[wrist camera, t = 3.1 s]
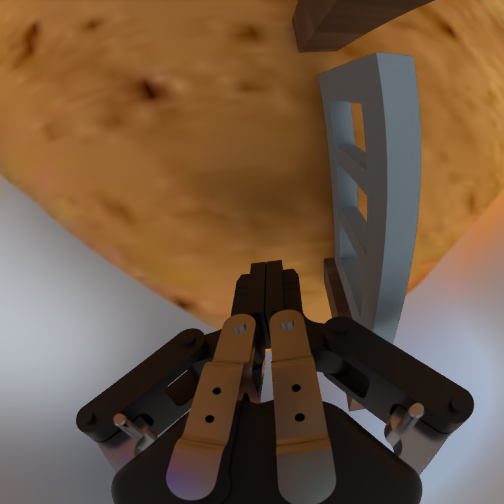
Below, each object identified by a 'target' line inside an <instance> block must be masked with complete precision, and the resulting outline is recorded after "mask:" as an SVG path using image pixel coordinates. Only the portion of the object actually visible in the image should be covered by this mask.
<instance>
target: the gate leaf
mask: <svg viewBox="0 0 504 504" xmlns="http://www.w3.org/2000/svg"><path fill="white" fill-rule="evenodd" d="M318 79H319V85H320V91H321V97H322V104H323V111H324V118H325V126H326V134H327V143H328V152H329V162H330V173H331V186H332V200H333V219H334V246H335V263H336V267H337V270H338V273H339V276H340V279H341V282H342V285H343V289H344V292H345V295H346V299H347V302H348V305H349V309H350V312H351V316H352V319H353V320H354V321H356V322H358V323H359V324H361V325H362V326H364V327H366V328H367V329H369V330H370V331H372V332H374V333H375V334H377V335H378V336H380V337H382V338H383V339H385V340H386V341H388V342H390V343H391V344H393V341H394V338H395V334H396V331H397V327H398V324H399V320H400V316H401V312H402V308H403V304H404V299H405V295H406V290H407V286H408V281H409V275H410V270H411V264H412V258H413V252H414V245H415V238H416V230H417V221H418V211H419V199H420V182H421V125H420V109H419V97H418V87H417V79H416V72H415V65H414V59H413V56H408V55H399V54H389V53H373V54H370V55H367V56H365V57H362V58H359V59H356V60H354V61H351V62H348V63H346V64H343V65H341V66H338V67H336V68H333V69H331V70H329V71H326V72H324V73H322V74H319V75H318ZM351 102H354V103H362V112H363V122H364V133H365V146H366V153H365V152H364V151H362V150H361V149H359V148H358V147H356V146H355V139H354V129H353V119H352V110H351ZM357 184H358V186H359V187H360V188H361V189H362V190H363V191H364V192H365V193H366V195H367V222H366V220H365V219H364V217H363V216H362V214H361V213H360V211H359V210H358V192H357Z"/></svg>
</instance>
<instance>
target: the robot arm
mask: <svg viewBox="0 0 504 504" xmlns="http://www.w3.org/2000/svg"><path fill="white" fill-rule="evenodd" d="M235 289H236V290H235V294H234V295H235V296H234V300H233V306H232V312H231V317H230V318H228V319H227V320H226V321H225V322H224V324H223V327H222V329H220V330H218V331H216V332H213V333H209V334H206V335H204V333H203V332H202V331H201V330H199V329H194V328H192V329H186V330H184V331H182V332H180V333H179V334H178V335H177V336H175V337H174V338H173V339H171V340H170V341H169V342H168V343H166V344H165V345H164V346H162V347H161V348H160V349H159V350H157V351H156V352H155V353H153V354H152V355H151V356H149V357H148V358H147V359H146V360H144V361H143V362H142V363H140V364H139V365H138V366H137V367H135V368H134V369H133V370H131V371H130V372H129V373H127V374H126V375H125V376H123V377H122V378H121V379H119V380H118V381H117V382H116V383H114V384H113V385H112V386H110V387H109V388H108V389H106V390H105V391H104V392H102V393H101V394H100V395H98V396H97V397H96V398H94V399H93V400H92V401H90V402H89V403H88V404H87V405H85V406H84V407H82V408H81V409H80V411H79V412H78V414H77V417H76V424H77V427H78V428H79V429H80V430H81V431H82V432H84V433H85V434H86V435H88V436H89V437H90V438H91V439H92V440H94V441H95V442H96V443H98V445H99V447H100V448H101V450H102V452H103V453H104V455H105V456H106V458H107V460H108V461H109V463H110V464H111V466H112V467H113V469H114V470H115V472H116V475H115V477H114V479H113V482H112V486H111V492H112V498H113V501H114V504H419V503H420V500H421V496H422V482H421V479H420V477H419V475H420V474H421V473H422V472H423V470H424V469H425V468H426V467H427V465H428V464H429V463H430V462H431V460H432V459H433V458H434V456H435V454H437V452H438V451H439V449H440V448H441V447H442V445H443V444H444V442H445V441H446V439H447V438H448V436H450V435H451V434H452V433H453V432H454V431H455V430H456V429H457V428H459V427H460V426H461V425H462V424H463V423H464V422H465V421H466V420H467V419H468V418H469V417H470V415H471V414H472V412H473V409H474V400H473V398H472V396H471V394H470V393H469V392H468V391H467V390H466V389H464V388H462V387H461V386H459V385H457V384H456V383H454V382H453V381H451V380H449V379H448V378H446V377H445V376H443V375H441V374H440V373H438V372H436V371H435V370H433V369H432V368H430V367H428V366H427V365H425V364H424V363H422V362H420V361H419V360H417V359H415V358H414V357H412V356H411V355H409V354H407V353H406V352H404V351H403V350H401V349H399V348H398V347H396V346H395V345H393V344H391V343H390V342H388V341H386V340H385V339H383V338H382V337H380V336H378V335H377V334H375V333H374V332H372V331H370V330H369V329H367V328H366V327H364V326H362V325H361V324H359V323H358V322H356V321H354V320H353V319H351V318H349V317H345V316H338V317H334V318H331V319H329V320H328V321H327V322H326V323H325V324H323V323H316V322H313V321H311V320H309V319H307V318H306V317H305V315H304V314H303V310H302V301H301V293H300V284H299V276H298V274H297V273H296V271H295V270H294V269H287V270H283V265H282V260H277V261H268V262H267V263H266V262H260V263H252V264H251V269H250V274H243V275H241V277H240V278H239V279H238V280H237V283H236V288H235ZM269 348H271V350H272V361H271V368H272V382H273V395H274V400H271V401H267V402H264V403H261V391H262V385H263V378H264V370H265V349H269ZM186 370H188V371H187V372H185V371H186ZM316 371H317V372H323V374H324V376H325V377H326V378H327V379H329V380H330V381H331V382H333V383H334V384H335V385H336V386H338V387H339V388H340V389H341V390H343V391H344V392H345V393H346V394H348V395H349V396H350V397H351V398H353V399H354V400H355V401H357V402H358V403H359V404H361V405H362V406H363V407H364V408H366V409H367V410H368V411H370V412H371V413H372V414H374V415H375V416H376V417H378V418H379V419H380V420H382V421H383V422H384V423H386V426H385V429H384V435H385V438H386V440H387V441H388V442H389V443H390V444H391V446H392V447H393V450H394V453H393V452H392V451H391V450H390V449H388V448H387V447H386V446H385V445H383V444H382V443H381V442H380V441H378V440H377V439H376V438H375V437H374V436H373V435H371V434H370V433H369V432H368V431H367V430H365V429H364V428H363V427H362V426H361V425H359V424H358V423H357V422H356V421H355V420H354V419H353V418H351V417H350V416H349V415H348V414H347V413H346V412H344V411H343V410H342V409H340V408H338V407H337V406H335V405H333V404H330V403H327V402H323V401H322V398H321V393H320V388H319V383H318V377H317V372H316ZM184 372H185V373H184ZM182 373H184V374H183V375H182V376H181V377H179V376H180V375H181V374H182ZM178 377H179V378H178ZM176 378H178V379H177V380H176V381H174V380H175V379H176ZM173 381H174V383H172V384H171V385H170V386H169V387H167V386H168V385H169V384H170V383H171V382H173ZM190 408H191V410H190V412H188V413H186V414H185V415H184V416H183V417H182V418H180V417H181V416H182V415H183V414H184V413H185V412H187V411H188V410H189V409H190ZM178 418H180V419H179V420H178V421H177V422H176V423H175V424H174V425H172V426H171V427H170V428H169V429H168V430H167V431H166V432H165V433H164V434H162V435H161V436H160V437H159V438H158V435H159V434H160V433H161V432H162V431H164V430H165V429H166V428H167V427H169V426H170V425H171V424H172V423H174V422H175V421H176V420H177V419H178Z"/></svg>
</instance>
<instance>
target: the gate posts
mask: <svg viewBox="0 0 504 504" xmlns="http://www.w3.org/2000/svg"><path fill="white" fill-rule="evenodd" d="M432 1H434V0H298V3H297V6H296V9H295V12H294V16H293V19H292V22H293V26H294V31H295V35H296V40H297V44H298V49H299V53H302V52H319V51H338V50H339V49H341V48H342V47H344V46H346V45H347V44H349V43H351V42H352V41H354V40H356V39H357V38H359V37H361V36H363V35H364V34H366V33H368V32H370V31H372V30H373V29H375V28H377V27H379V26H381V25H383V24H385V23H387V22H388V21H390V20H392V19H394V18H396V17H398V16H401V15H403V14H405V13H407V12H409V11H411V10H413V9H416V8H418V7H420V6H422V5H425V4H427V3H430V2H432ZM324 283H325V288H326V292H327V296H328V301H329V305H330V310H331V314H332V318H334V317H338V316H345V317H349V318H351V319H352V316H351V312H350V309H349V305H348V302H347V299H346V295H345V292H344V289H343V285H342V282H341V279H340V276H339V273H338V270H337V267H336V263H335V258H332V259H324ZM346 395H347V401H348V408H349V411H355V410H360V409H366V408H364V407H363V406H362V405H361V404H359V403H358V402H357V401H355V400H354V399H353V398H351V397H350V396H349V395H348V394H346Z"/></svg>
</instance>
